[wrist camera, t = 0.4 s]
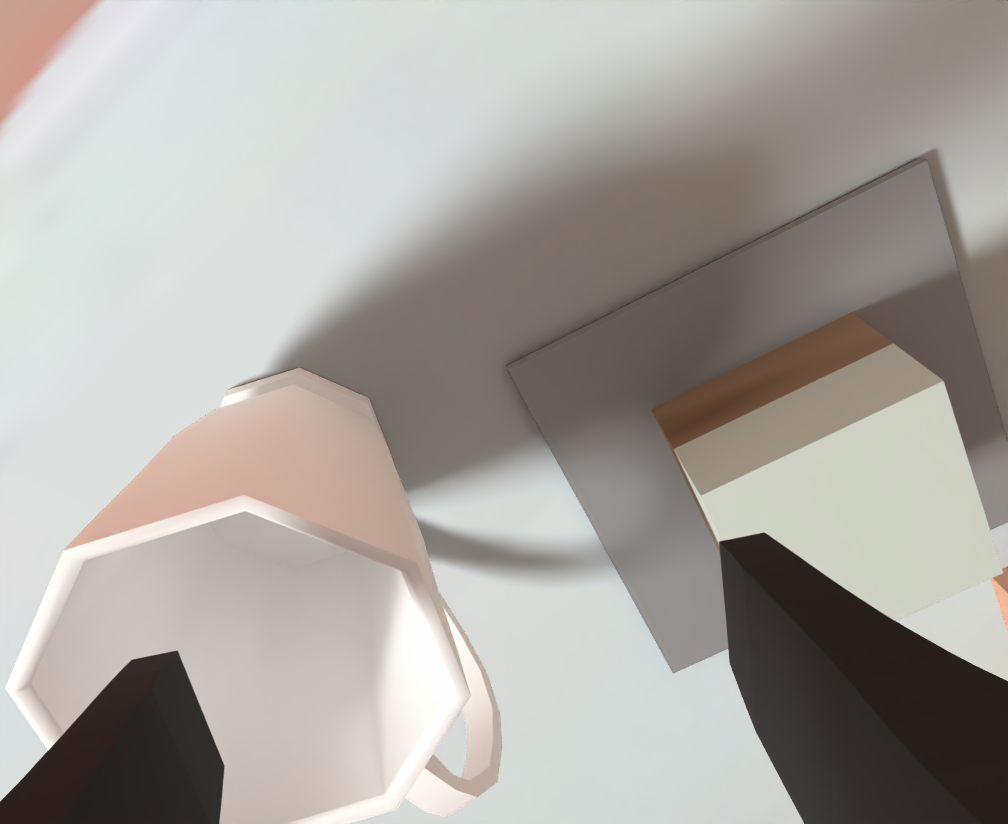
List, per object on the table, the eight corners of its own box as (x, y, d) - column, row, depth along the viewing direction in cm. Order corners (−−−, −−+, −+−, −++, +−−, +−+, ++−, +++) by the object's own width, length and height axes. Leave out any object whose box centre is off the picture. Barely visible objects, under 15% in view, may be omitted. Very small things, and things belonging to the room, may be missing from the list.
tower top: (953, 522, 22) (1003, 573, 20) (752, 614, 22) (783, 671, 20) (893, 343, 19) (943, 381, 18) (673, 449, 20) (700, 496, 18)
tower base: (910, 480, 23) (953, 522, 22) (726, 566, 24) (752, 614, 22) (851, 312, 21) (893, 343, 19) (651, 409, 22) (673, 449, 20)
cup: (301, 245, 20) (242, 402, 12) (583, 543, 24) (664, 797, 16) (72, 444, 21) (-102, 689, 14) (374, 695, 25) (361, 992, 18)
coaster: (1020, 506, 24) (1027, 512, 24) (669, 666, 25) (673, 673, 25) (919, 157, 20) (926, 160, 20) (506, 365, 21) (508, 370, 21)
